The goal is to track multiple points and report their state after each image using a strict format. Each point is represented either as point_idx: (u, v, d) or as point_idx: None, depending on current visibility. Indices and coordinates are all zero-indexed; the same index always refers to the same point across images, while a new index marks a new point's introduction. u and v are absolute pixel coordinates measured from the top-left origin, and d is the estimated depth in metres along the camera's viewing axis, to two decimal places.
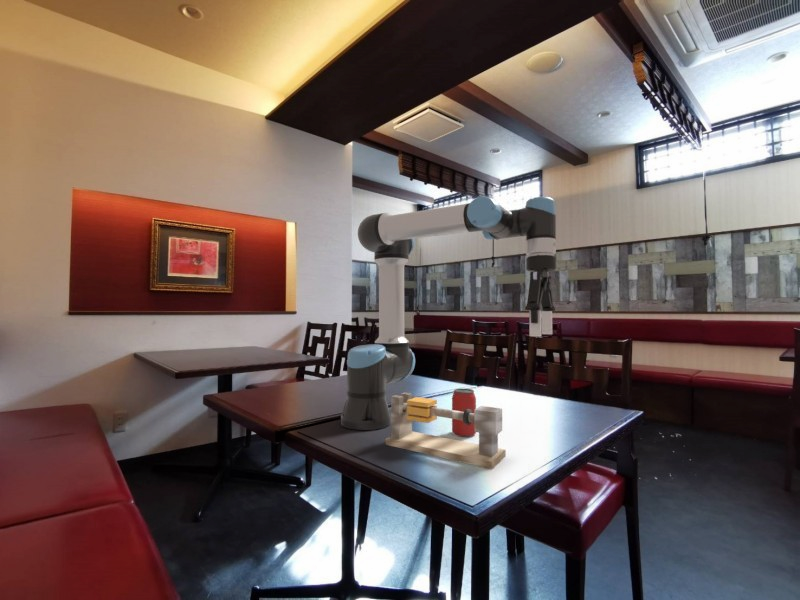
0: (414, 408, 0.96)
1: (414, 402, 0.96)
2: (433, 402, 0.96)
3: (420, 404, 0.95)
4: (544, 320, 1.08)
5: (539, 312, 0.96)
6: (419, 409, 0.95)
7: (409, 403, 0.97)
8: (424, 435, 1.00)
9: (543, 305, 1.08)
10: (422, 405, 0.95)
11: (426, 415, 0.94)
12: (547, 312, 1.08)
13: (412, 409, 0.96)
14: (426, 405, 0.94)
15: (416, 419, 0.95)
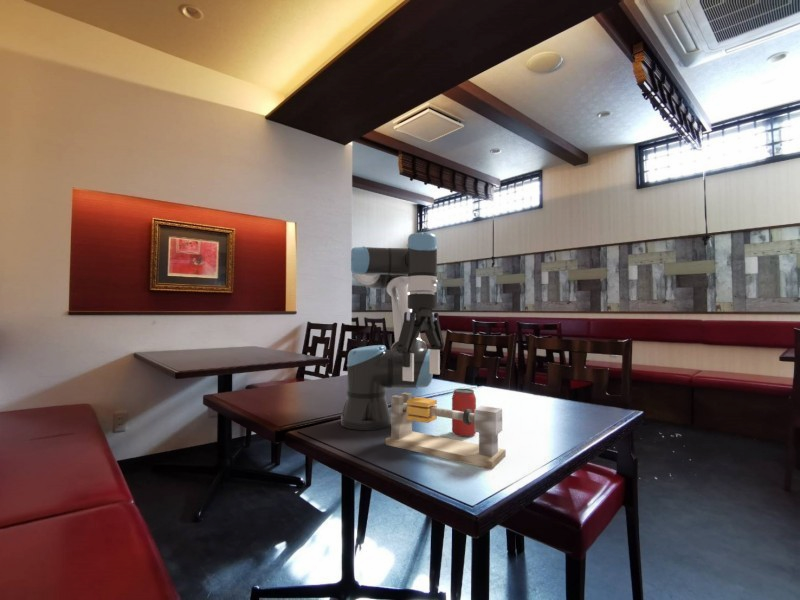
0: (414, 408, 0.96)
1: (414, 402, 0.96)
2: (433, 402, 0.96)
3: (420, 404, 0.95)
4: (432, 359, 1.03)
5: (411, 355, 0.91)
6: (419, 409, 0.95)
7: (409, 403, 0.97)
8: (424, 435, 1.00)
9: (431, 343, 1.03)
10: (422, 405, 0.95)
11: (426, 415, 0.94)
12: (434, 351, 1.03)
13: (412, 409, 0.96)
14: (426, 405, 0.94)
15: (416, 419, 0.95)
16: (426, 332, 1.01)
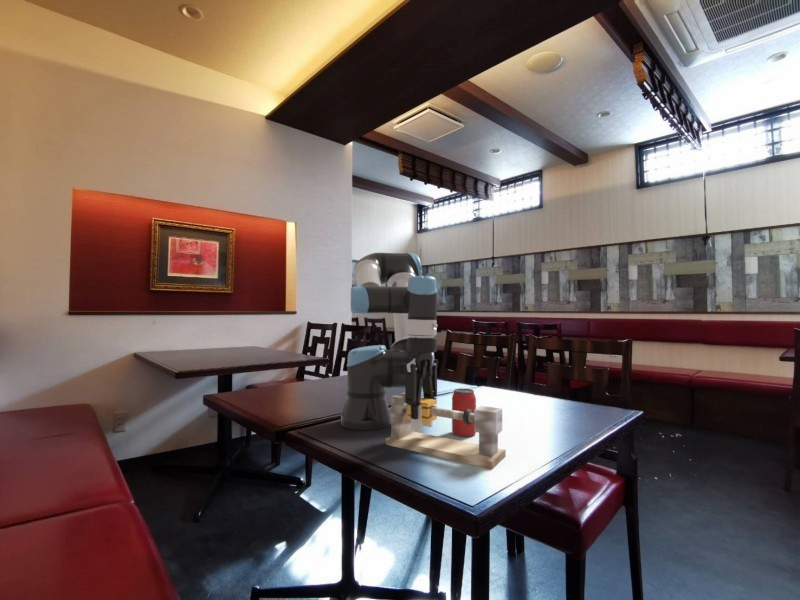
0: None
1: None
2: (433, 402, 0.96)
3: (420, 404, 0.95)
4: None
5: (419, 407, 0.94)
6: None
7: None
8: (424, 435, 1.00)
9: (424, 392, 1.00)
10: (422, 405, 0.95)
11: (426, 415, 0.94)
12: None
13: None
14: (426, 405, 0.94)
15: None
16: None
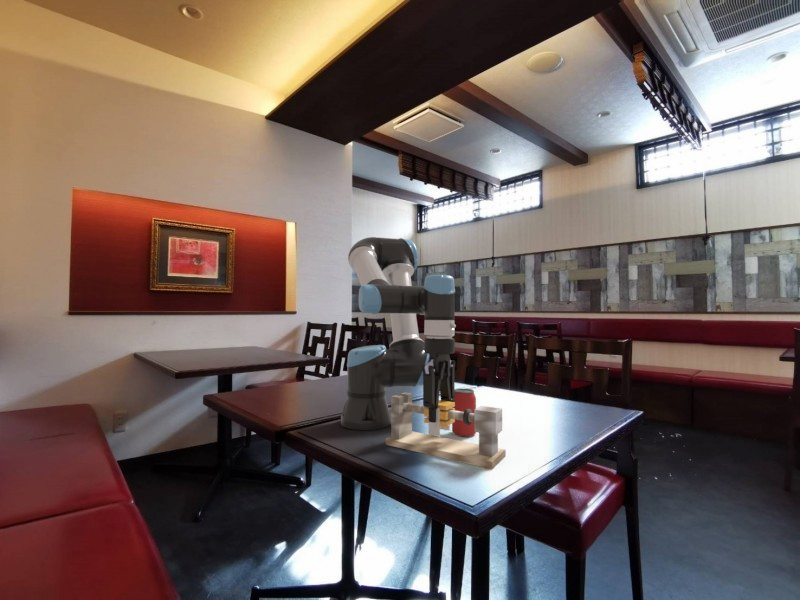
0: None
1: None
2: (451, 405, 0.94)
3: (438, 407, 0.92)
4: None
5: (437, 410, 0.92)
6: None
7: None
8: (424, 435, 1.00)
9: (441, 394, 0.98)
10: (440, 408, 0.92)
11: (444, 418, 0.91)
12: None
13: None
14: (444, 408, 0.91)
15: None
16: None
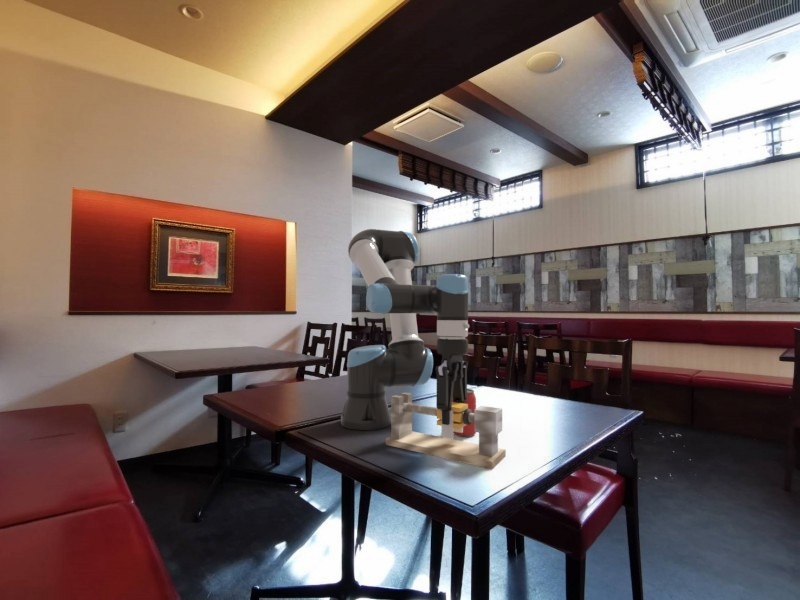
0: None
1: None
2: (464, 407, 0.92)
3: (451, 409, 0.90)
4: None
5: (451, 412, 0.90)
6: None
7: None
8: (424, 435, 1.00)
9: (454, 395, 0.96)
10: (454, 410, 0.90)
11: (458, 420, 0.89)
12: None
13: None
14: (458, 410, 0.89)
15: None
16: None
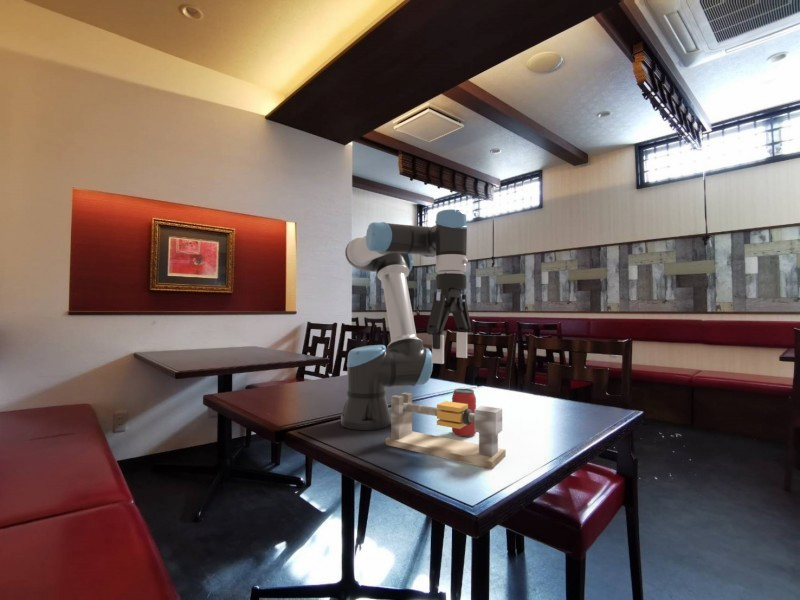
0: (445, 413, 0.91)
1: (445, 407, 0.91)
2: (464, 407, 0.92)
3: (451, 409, 0.90)
4: (459, 342, 1.00)
5: (441, 337, 0.88)
6: (450, 414, 0.90)
7: (439, 408, 0.92)
8: (424, 435, 1.00)
9: (458, 326, 1.00)
10: (454, 410, 0.90)
11: (458, 420, 0.89)
12: (462, 333, 0.99)
13: (442, 414, 0.92)
14: (458, 410, 0.89)
15: (447, 424, 0.91)
16: (454, 314, 0.98)
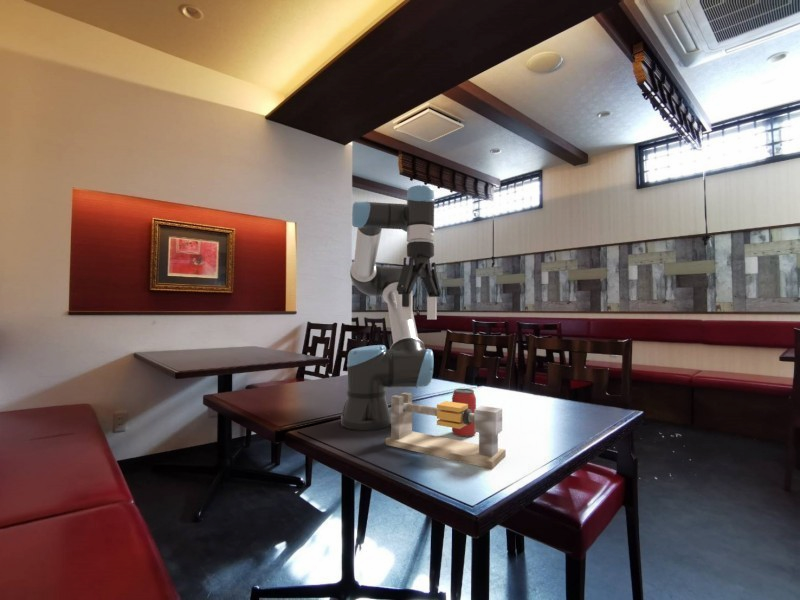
0: (445, 413, 0.91)
1: (445, 407, 0.91)
2: (464, 407, 0.92)
3: (451, 409, 0.90)
4: (429, 306, 1.11)
5: (410, 296, 0.99)
6: (450, 414, 0.90)
7: (439, 408, 0.92)
8: (424, 435, 1.00)
9: (428, 291, 1.11)
10: (454, 410, 0.90)
11: (458, 420, 0.89)
12: (432, 298, 1.11)
13: (442, 414, 0.92)
14: (458, 410, 0.89)
15: (447, 424, 0.91)
16: (424, 280, 1.09)
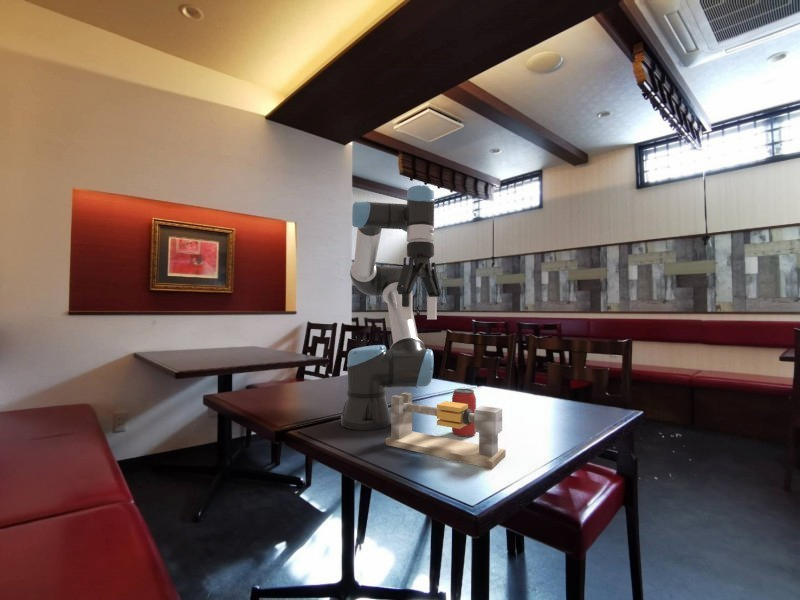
0: (445, 413, 0.91)
1: (445, 407, 0.91)
2: (464, 407, 0.92)
3: (451, 409, 0.90)
4: (429, 306, 1.11)
5: (410, 296, 0.99)
6: (450, 414, 0.90)
7: (439, 408, 0.92)
8: (424, 435, 1.00)
9: (428, 291, 1.11)
10: (454, 410, 0.90)
11: (458, 420, 0.89)
12: (432, 298, 1.11)
13: (442, 414, 0.92)
14: (458, 410, 0.89)
15: (447, 424, 0.91)
16: (424, 280, 1.09)
